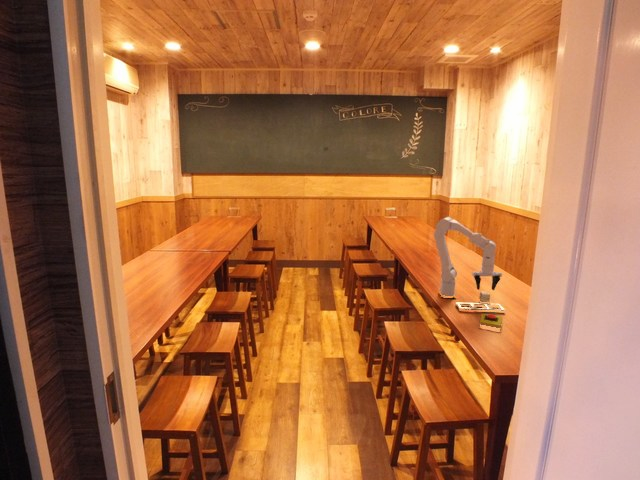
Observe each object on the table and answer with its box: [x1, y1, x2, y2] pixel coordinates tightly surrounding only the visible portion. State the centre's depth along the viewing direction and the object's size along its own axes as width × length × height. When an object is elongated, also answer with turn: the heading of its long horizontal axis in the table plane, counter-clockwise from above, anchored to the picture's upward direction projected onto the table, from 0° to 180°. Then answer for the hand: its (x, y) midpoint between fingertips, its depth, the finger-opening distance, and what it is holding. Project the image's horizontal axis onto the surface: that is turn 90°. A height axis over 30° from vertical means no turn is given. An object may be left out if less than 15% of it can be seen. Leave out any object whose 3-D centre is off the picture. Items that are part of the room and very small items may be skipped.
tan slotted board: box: [455, 301, 506, 312], centre depth 201 cm, size 8×22×2 cm, turn 86°
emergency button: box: [479, 313, 503, 329], centre depth 183 cm, size 9×4×15 cm
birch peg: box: [478, 291, 491, 303], centre depth 209 cm, size 4×4×6 cm
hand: (485, 289), depth 208 cm, fingers open, 7 cm apart
